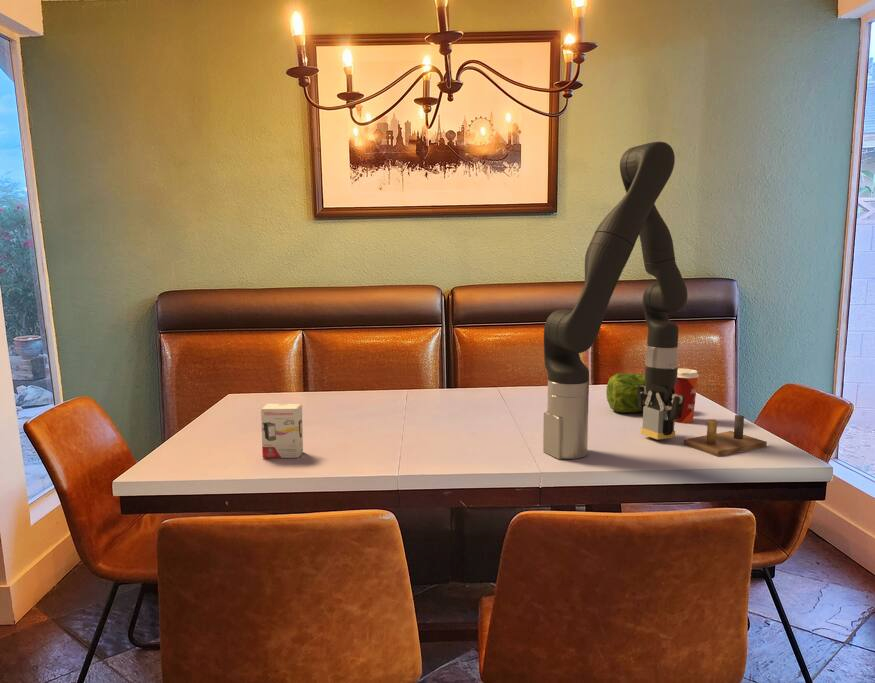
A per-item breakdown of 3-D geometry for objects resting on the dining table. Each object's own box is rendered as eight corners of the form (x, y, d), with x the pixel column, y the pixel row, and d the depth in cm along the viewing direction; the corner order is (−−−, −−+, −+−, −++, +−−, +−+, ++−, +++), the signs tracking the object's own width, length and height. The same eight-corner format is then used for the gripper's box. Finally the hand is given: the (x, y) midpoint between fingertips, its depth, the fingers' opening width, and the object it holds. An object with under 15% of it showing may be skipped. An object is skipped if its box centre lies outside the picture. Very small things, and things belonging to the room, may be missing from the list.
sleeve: (657, 439, 147) (658, 411, 146) (641, 433, 152) (642, 406, 151) (674, 436, 149) (676, 409, 148) (658, 430, 154) (659, 404, 153)
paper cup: (699, 424, 163) (702, 373, 161) (669, 423, 164) (671, 372, 162) (693, 417, 170) (695, 368, 168) (664, 416, 172) (666, 367, 170)
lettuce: (685, 416, 171) (687, 377, 169) (612, 417, 172) (613, 378, 170) (671, 406, 182) (673, 369, 181) (602, 407, 183) (603, 370, 181)
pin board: (717, 456, 137) (719, 427, 136) (683, 444, 146) (684, 417, 145) (766, 446, 144) (768, 419, 143) (730, 435, 153) (732, 409, 152)
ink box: (261, 458, 139) (258, 408, 138) (267, 451, 144) (265, 403, 143) (299, 458, 139) (297, 408, 138) (304, 451, 144) (302, 403, 143)
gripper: (628, 361, 153) (626, 426, 156) (672, 370, 140) (668, 441, 143) (651, 359, 156) (648, 422, 159) (696, 368, 143) (692, 437, 146)
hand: (658, 431), depth 151 cm, fingers closed on sleeve, 5 cm apart
